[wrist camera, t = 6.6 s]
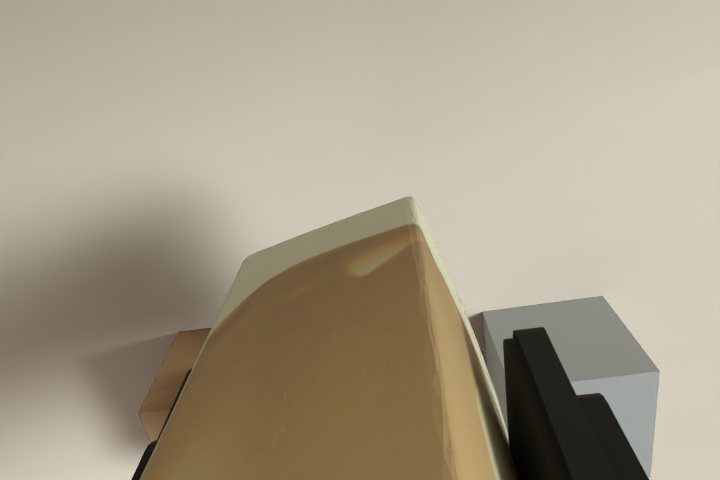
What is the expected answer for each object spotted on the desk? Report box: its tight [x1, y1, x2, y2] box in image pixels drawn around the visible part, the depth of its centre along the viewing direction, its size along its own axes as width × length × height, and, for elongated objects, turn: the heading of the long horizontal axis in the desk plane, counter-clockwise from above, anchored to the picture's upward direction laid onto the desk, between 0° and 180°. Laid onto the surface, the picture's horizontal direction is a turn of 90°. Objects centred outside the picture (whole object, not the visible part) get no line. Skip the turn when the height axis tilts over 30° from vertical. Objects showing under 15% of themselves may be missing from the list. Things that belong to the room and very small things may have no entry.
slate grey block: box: [482, 296, 660, 477], centre depth 22 cm, size 5×5×5 cm
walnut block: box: [139, 328, 212, 442], centre depth 23 cm, size 5×5×5 cm
